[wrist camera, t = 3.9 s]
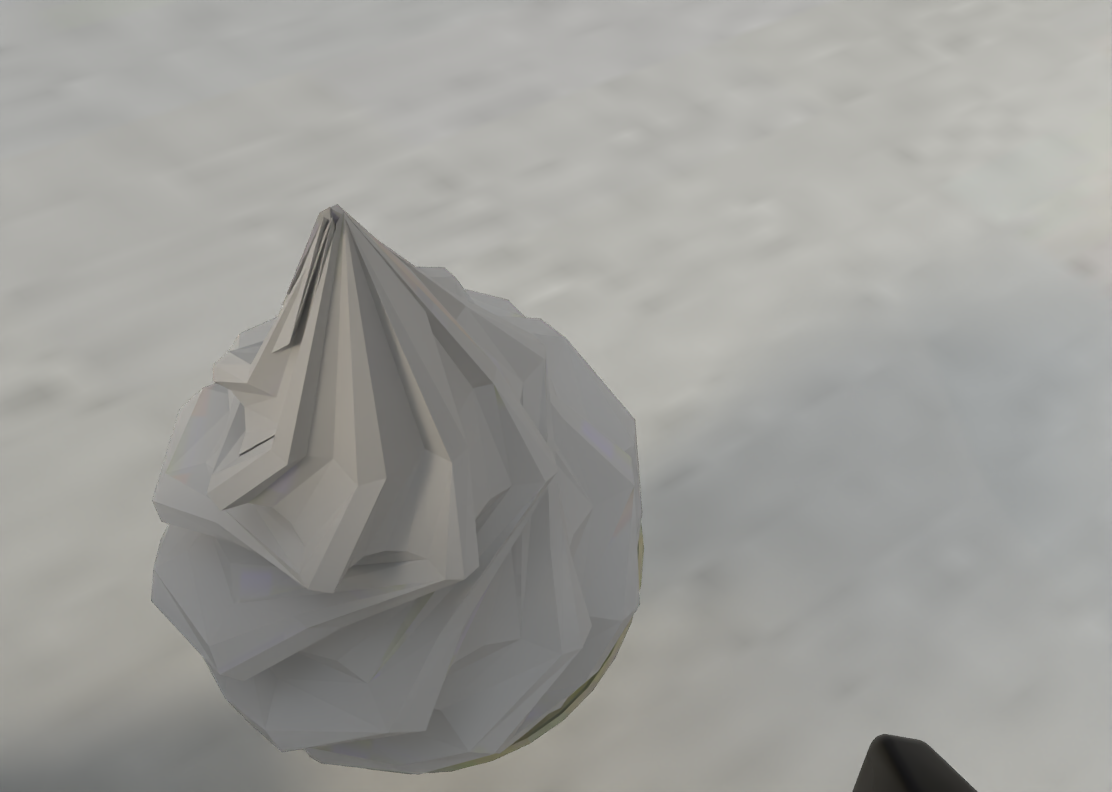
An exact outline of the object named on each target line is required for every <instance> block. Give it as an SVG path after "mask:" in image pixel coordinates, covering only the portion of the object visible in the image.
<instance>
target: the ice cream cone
mask: <svg viewBox="0 0 1112 792" xmlns="http://www.w3.org/2000/svg"><path fill="white" fill-rule="evenodd" d="M282 305H283V307H282V309H281V311H280V313H279V315H278V316H277V317H276V318H274V319H271V320H269V321H267V322H265V323H262V324H260V325H258V326H256V327H253V328H251V329H249V330H247V331H244V332H242V333H240V334H239V335H238V337H237V338H236V340H235V341H234V343H233V344H232V346H231V347H230V349H229V350H228V352H227V353H226V354H225V355H224V356H223V357H221V358H220V359H219V360H218V361H216V362H215V363H214V364H213V382H215V383H214V384H212V385H209V386H207V387H204V388H202V389H201V390H200V391H199V392H198V393H197V394H196V395H195V396H194V397H192V398H191V399H190V400H189V401H188V402H187V403H186V404H185V405H184V406H183V407H181V408H180V409H179V412H178V416H177V419H176V422H175V426H174V429H173V432H172V436H171V439H170V442H169V446H168V449H167V452H166V456H165V459H164V462H163V466H162V469H161V473H160V476H159V479H158V483H157V486H156V489H155V493H154V496H153V499H152V502H153V504H154V506H155V508H156V510H157V512H158V515H159V517H160V519H161V521H162V522H165V523H169V524H168V526H167V528H166V530H165V532H164V534H163V536H162V538H161V540H160V545H159V549H158V553H157V557H156V561H155V565H154V570H153V583H152V597H151V601H152V602H153V603H154V604H155V605H156V607H157V608H158V609H159V610H160V611H161V612H162V613H163V614H164V615H165V616H166V617H167V618H168V619H169V621H170V622H171V623H172V624H173V625H174V626H175V627H176V628H177V629H178V630H179V631H180V632H181V633H182V635H183V636H184V637H185V638H186V639H187V640H188V641H189V642H190V643H191V644H192V645H193V646H194V647H195V649H196V650H197V651H198V652H199V653H200V654H201V655H202V656H203V658H204V660H205V662H206V664H207V665H208V667H209V669H210V671H211V673H212V675H213V677H214V679H215V680H216V682H217V684H218V686H219V688H220V690H221V692H222V694H223V695H224V697H225V699H226V700H227V701H228V702H229V703H230V704H231V705H232V706H233V707H234V708H235V709H236V710H237V711H238V712H239V713H240V714H241V715H242V716H243V717H244V718H245V719H246V720H247V721H248V722H249V723H250V724H251V725H252V726H253V727H254V728H256V729H257V730H258V731H259V732H260V733H261V734H262V735H263V736H265V737H266V738H267V739H268V740H269V741H270V742H271V743H272V744H274V745H275V746H276V747H277V748H278V749H279V750H280V751H281V752H286V751H293V750H300V749H305V750H306V752H307V753H308V755H309V756H310V757H311V758H313V759H314V760H316V761H318V762H320V763H324V764H332V765H341V766H350V767H358V768H366V769H371V770H380V771H388V772H396V773H405V774H422V773H434V772H448V771H455V770H459V769H463V768H466V767H470V766H474V765H478V764H482V763H486V762H490V761H493V760H495V759H497V758H500V757H502V756H504V755H506V754H508V753H510V752H513V751H515V750H517V749H519V748H521V747H523V746H526V745H528V744H530V743H531V742H533V741H534V740H536V739H537V738H539V737H540V736H541V735H543V734H544V733H546V732H547V731H548V730H550V729H551V728H553V727H554V726H556V725H557V724H558V723H560V722H561V721H563V720H564V719H565V718H566V717H567V716H568V715H569V714H570V713H571V712H572V711H573V710H574V709H575V708H576V707H577V706H578V705H579V704H580V703H581V702H582V701H583V700H584V699H585V698H586V697H587V696H588V695H589V694H590V693H591V692H592V691H593V689H594V688H595V687H596V685H597V684H598V682H599V681H600V679H601V678H602V676H603V675H604V673H605V672H606V671H607V669H608V668H609V666H610V665H611V663H612V662H613V660H614V659H615V657H616V655H617V653H618V651H619V649H620V646H621V644H622V642H623V640H624V638H625V635H626V633H627V631H628V629H629V627H630V624H631V622H632V618H633V615H634V613H635V612H636V610H637V608H638V607H639V605H640V595H639V591H640V587H641V578H642V565H643V552H644V545H643V536H642V526H641V518H642V503H641V490H640V477H639V463H638V450H637V436H636V423H635V419H634V418H633V417H632V415H631V414H630V413H629V412H628V411H627V410H626V408H625V407H624V406H623V405H622V404H621V402H620V401H619V400H618V399H617V398H616V397H615V395H614V394H613V393H612V392H611V391H610V389H609V388H608V387H607V386H606V385H605V384H604V382H603V381H602V380H601V379H600V378H599V376H598V375H597V374H596V373H595V372H594V370H593V369H592V368H591V367H590V366H589V365H588V363H587V362H586V361H585V360H584V359H583V357H582V356H581V355H580V354H579V353H578V352H577V350H576V349H575V348H574V347H573V346H572V344H571V343H570V342H569V341H568V340H567V339H566V338H565V337H564V336H563V335H561V334H560V333H559V332H558V331H556V330H555V329H554V328H552V327H551V326H550V325H548V324H547V323H546V322H544V321H543V320H542V319H539V318H526V317H525V316H524V315H523V314H522V313H521V312H520V311H519V310H518V309H517V308H516V307H515V306H514V305H513V304H512V303H511V302H510V301H509V300H507V299H503V298H499V297H495V296H491V295H487V294H483V293H479V292H475V291H471V290H466V289H464V288H463V287H462V285H461V284H460V283H459V281H458V280H457V279H456V277H455V276H454V275H452V274H451V273H450V272H449V271H448V270H447V269H446V268H444V267H415V266H414V265H413V264H411V263H410V262H408V261H407V260H405V259H404V258H403V257H401V256H400V255H398V254H397V253H395V252H394V251H393V250H391V249H390V248H388V247H387V246H385V245H384V244H383V243H381V242H380V241H378V240H377V239H376V238H375V237H374V236H373V235H372V234H370V233H369V232H368V231H367V230H366V229H365V228H364V227H363V226H361V225H360V224H359V223H358V222H357V221H356V220H355V219H354V218H352V217H351V216H350V215H349V214H348V213H347V212H346V211H345V210H343V209H342V208H341V207H340V206H339V205H338V204H337V205H334V206H332V207H329V208H327V209H325V210H324V211H322V212H320V213H319V215H318V218H317V220H316V223H315V225H314V228H313V230H312V233H311V235H310V238H309V240H308V243H307V245H306V248H305V250H304V253H303V255H302V257H301V260H300V262H299V265H298V267H297V270H296V272H295V275H294V277H293V280H292V282H291V285H290V287H289V290H288V292H287V295H286V298H285V300H284V302H283V304H282Z"/></svg>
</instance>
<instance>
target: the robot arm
mask: <svg viewBox="0 0 1112 792" xmlns="http://www.w3.org/2000/svg"><path fill="white" fill-rule="evenodd" d="M853 792H977V791H976V790H975V789H974V788H973V787H972V786H971V785H970V784H969V783H968V782H967V781H966V780H965V779H964V778H963V777H962V776H961V775H959V774H958V773H957V772H956V771H955V770H954V769H953V768H952V767H951V766H950V765H949V764H948V763H947V762H946V761H945V760H944V759H943V758H942V757H941V756H940V755H939V754H938V753H937V752H935V751H934V750H933V749H932V748H931V747H930V746H929V745H928V744H926V743H925V742H923V741H921V740H917V739H912V738H906V737H900V736H894V735H888V734H882V735H879V736H877V737H876V738H875V739H874V740H873V741H872V743H871V745H870V747H869V749H868V752H867V755H866V757H865V760H864V763H863V765H862V768H861V770H860V773H859V776H858V778H857V781H856V784H855V786H854V789H853Z"/></svg>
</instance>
